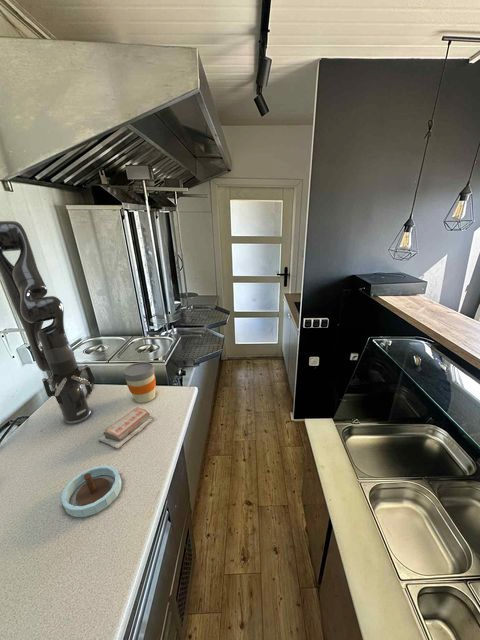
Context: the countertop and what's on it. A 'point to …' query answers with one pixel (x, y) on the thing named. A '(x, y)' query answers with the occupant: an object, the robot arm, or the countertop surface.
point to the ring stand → (92, 490)
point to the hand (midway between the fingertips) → (75, 398)
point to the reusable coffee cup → (141, 381)
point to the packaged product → (126, 427)
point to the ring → (99, 504)
